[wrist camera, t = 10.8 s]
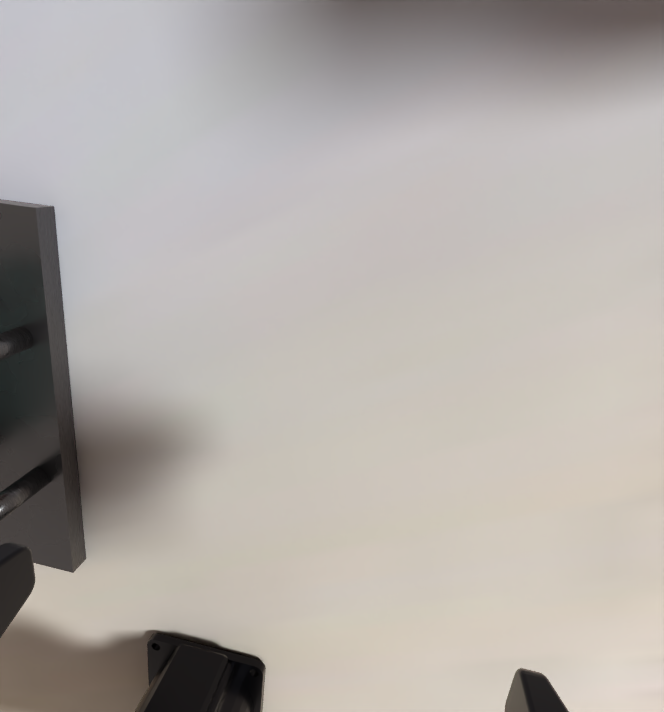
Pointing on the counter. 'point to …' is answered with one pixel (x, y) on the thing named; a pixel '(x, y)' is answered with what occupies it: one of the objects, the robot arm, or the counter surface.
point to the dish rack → (36, 394)
